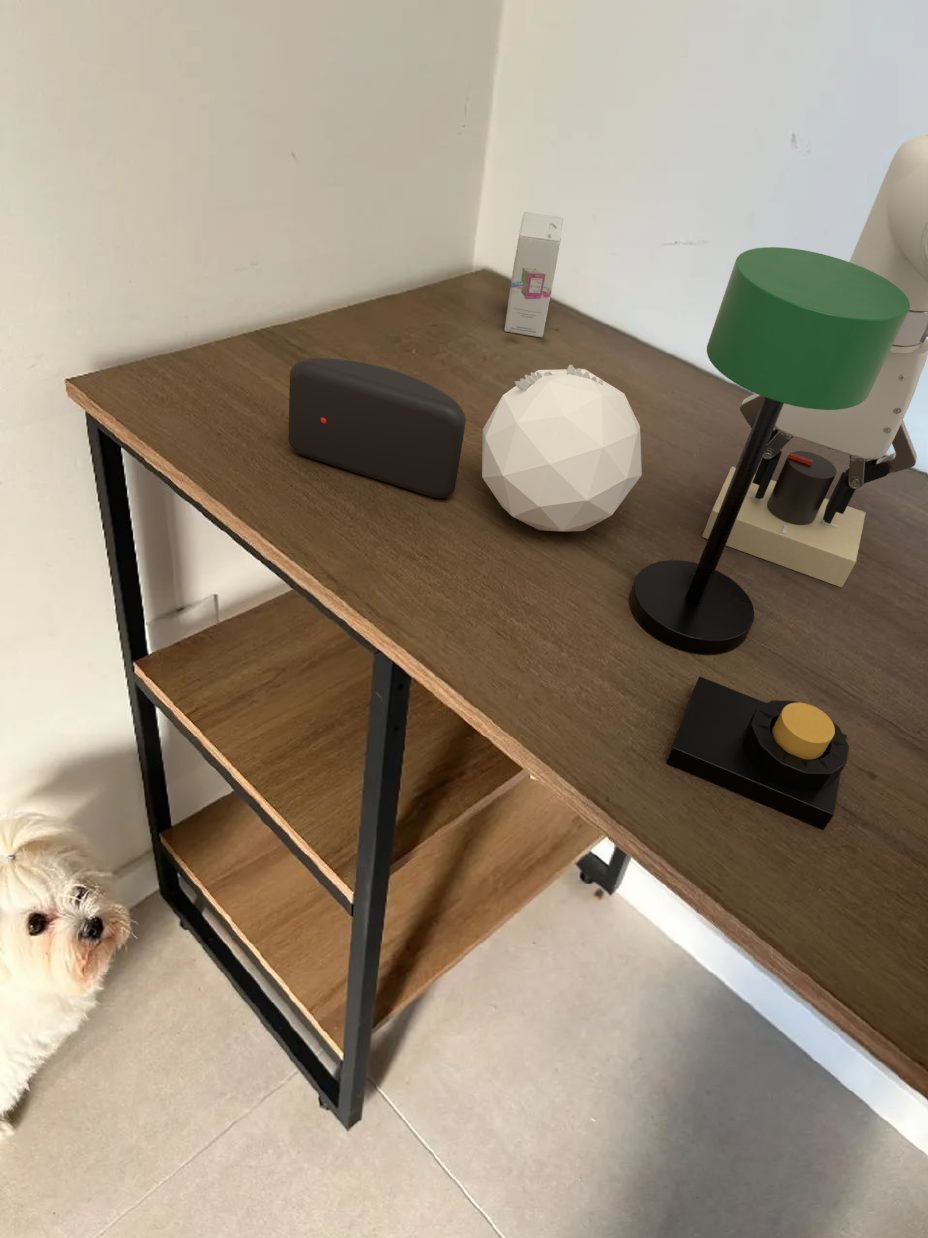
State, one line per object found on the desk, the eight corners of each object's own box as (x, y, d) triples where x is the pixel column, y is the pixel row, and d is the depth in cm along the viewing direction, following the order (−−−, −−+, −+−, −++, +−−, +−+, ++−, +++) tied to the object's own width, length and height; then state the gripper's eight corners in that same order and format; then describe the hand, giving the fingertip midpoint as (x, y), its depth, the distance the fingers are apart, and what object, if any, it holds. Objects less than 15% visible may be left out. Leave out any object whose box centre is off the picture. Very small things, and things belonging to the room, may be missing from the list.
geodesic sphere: (455, 509, 73) (592, 379, 67) (421, 414, 83) (538, 295, 78) (572, 592, 82) (701, 483, 76) (529, 497, 92) (640, 396, 87)
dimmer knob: (817, 507, 86) (841, 458, 83) (811, 530, 83) (835, 481, 80) (771, 491, 87) (792, 442, 84) (763, 513, 84) (784, 464, 81)
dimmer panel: (852, 537, 89) (866, 510, 87) (842, 588, 83) (857, 560, 81) (721, 491, 92) (732, 464, 90) (701, 536, 85) (712, 508, 83)
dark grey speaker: (465, 482, 87) (481, 391, 80) (448, 507, 83) (463, 414, 77) (306, 432, 89) (310, 340, 83) (284, 455, 86) (286, 360, 79)
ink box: (506, 303, 119) (523, 208, 111) (545, 310, 119) (564, 215, 111) (501, 331, 112) (519, 232, 105) (542, 338, 112) (563, 240, 105)
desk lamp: (764, 600, 80) (915, 279, 61) (740, 678, 72) (904, 337, 53) (643, 555, 82) (753, 233, 64) (606, 625, 74) (719, 281, 56)
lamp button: (827, 732, 64) (838, 715, 63) (821, 767, 62) (831, 750, 60) (776, 712, 65) (786, 694, 64) (768, 746, 62) (777, 728, 61)
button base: (837, 750, 67) (858, 718, 65) (823, 830, 62) (845, 798, 59) (692, 691, 70) (706, 658, 68) (665, 763, 64) (680, 730, 62)
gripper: (993, 330, 74) (891, 516, 86) (781, 268, 77) (712, 454, 89) (993, 365, 68) (885, 558, 80) (765, 296, 72) (694, 490, 84)
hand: (794, 502), depth 85 cm, fingers open, 5 cm apart
